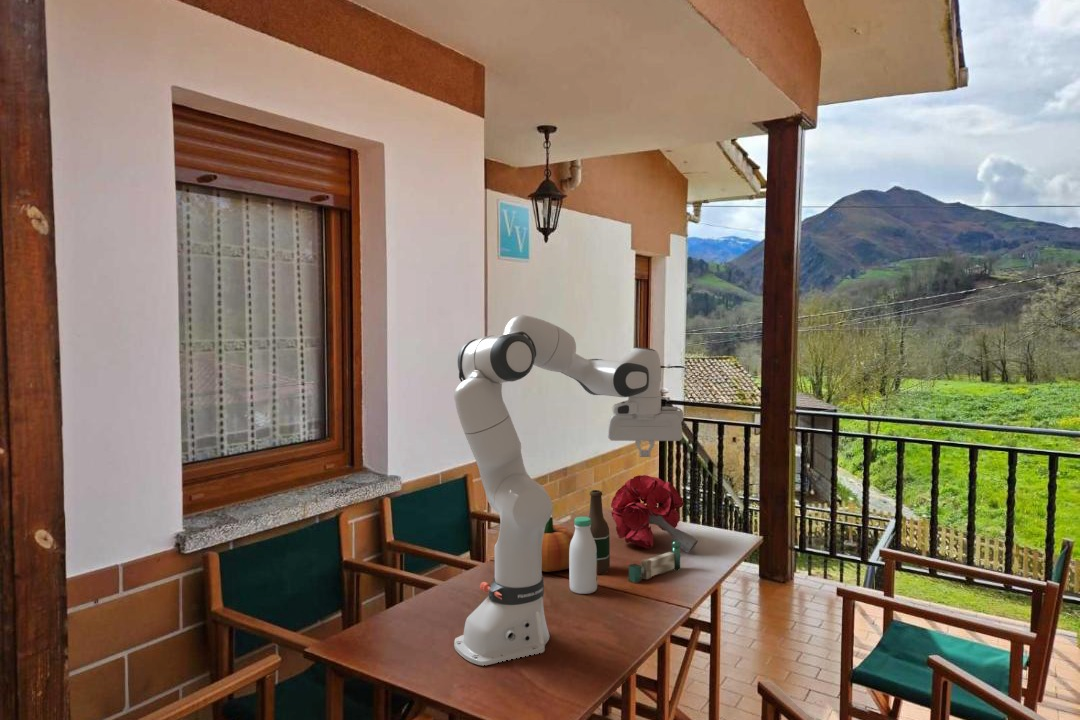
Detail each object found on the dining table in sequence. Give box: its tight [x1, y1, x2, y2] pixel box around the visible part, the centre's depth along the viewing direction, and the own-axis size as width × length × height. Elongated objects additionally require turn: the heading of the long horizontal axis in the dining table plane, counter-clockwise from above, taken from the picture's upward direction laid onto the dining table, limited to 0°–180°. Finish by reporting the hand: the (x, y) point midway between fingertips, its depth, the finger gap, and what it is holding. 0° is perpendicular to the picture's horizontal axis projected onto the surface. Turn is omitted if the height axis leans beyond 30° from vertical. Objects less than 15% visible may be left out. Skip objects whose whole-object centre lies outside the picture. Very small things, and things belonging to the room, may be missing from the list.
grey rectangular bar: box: [640, 551, 674, 580], centre depth 197 cm, size 12×2×5 cm, turn 129°
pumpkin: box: [542, 516, 574, 573], centre depth 206 cm, size 19×19×15 cm
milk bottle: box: [568, 516, 598, 595], centre depth 187 cm, size 8×8×20 cm
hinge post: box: [671, 539, 681, 571], centre depth 202 cm, size 3×3×9 cm
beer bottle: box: [588, 489, 611, 575], centre depth 201 cm, size 8×8×24 cm
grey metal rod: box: [641, 569, 675, 580], centre depth 198 cm, size 14×1×1 cm, turn 124°
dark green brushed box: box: [628, 563, 644, 584], centre depth 193 cm, size 3×3×4 cm
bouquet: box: [610, 474, 699, 554], centre depth 222 cm, size 22×24×30 cm
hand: (644, 456), depth 185 cm, fingers closed
